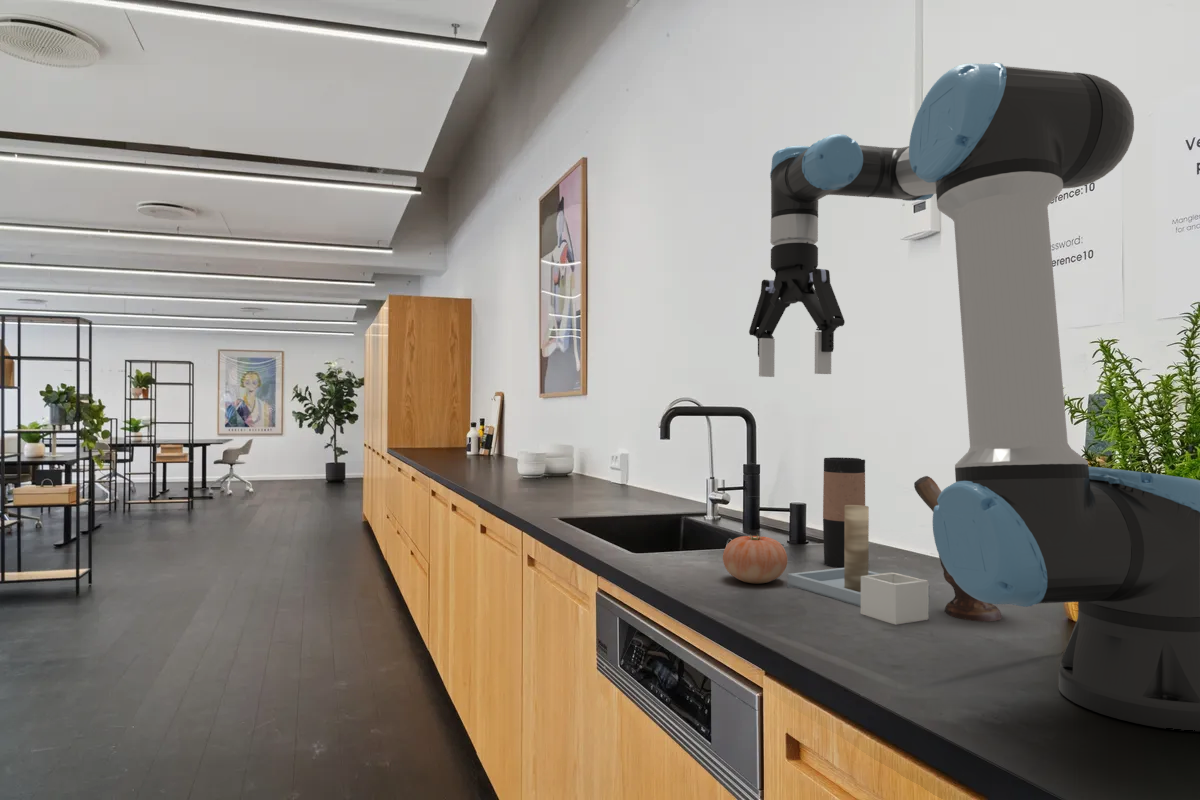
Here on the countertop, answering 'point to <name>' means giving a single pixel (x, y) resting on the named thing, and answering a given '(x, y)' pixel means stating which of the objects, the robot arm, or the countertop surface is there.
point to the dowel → (856, 545)
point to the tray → (826, 584)
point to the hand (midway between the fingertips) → (793, 375)
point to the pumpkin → (755, 559)
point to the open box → (894, 598)
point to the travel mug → (840, 503)
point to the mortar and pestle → (962, 601)
